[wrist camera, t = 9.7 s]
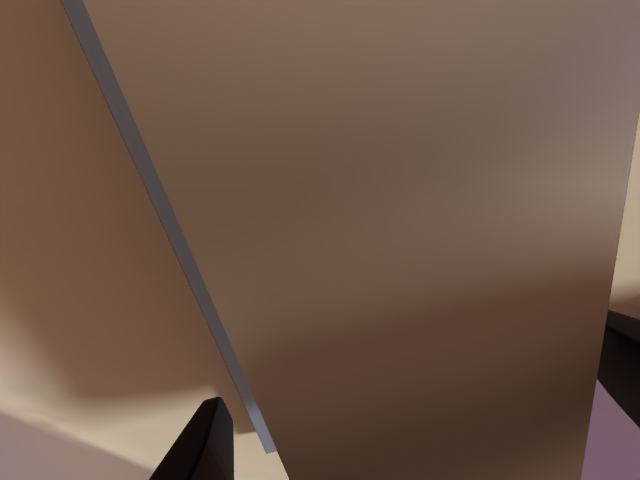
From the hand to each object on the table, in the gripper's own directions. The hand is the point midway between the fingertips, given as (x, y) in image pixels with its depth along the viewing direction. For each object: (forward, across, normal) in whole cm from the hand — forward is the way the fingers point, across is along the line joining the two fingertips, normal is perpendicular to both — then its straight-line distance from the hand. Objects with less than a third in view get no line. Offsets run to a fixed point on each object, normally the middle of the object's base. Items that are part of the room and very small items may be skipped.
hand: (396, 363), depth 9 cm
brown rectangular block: (+2, 0, 0) cm, 2 cm away
